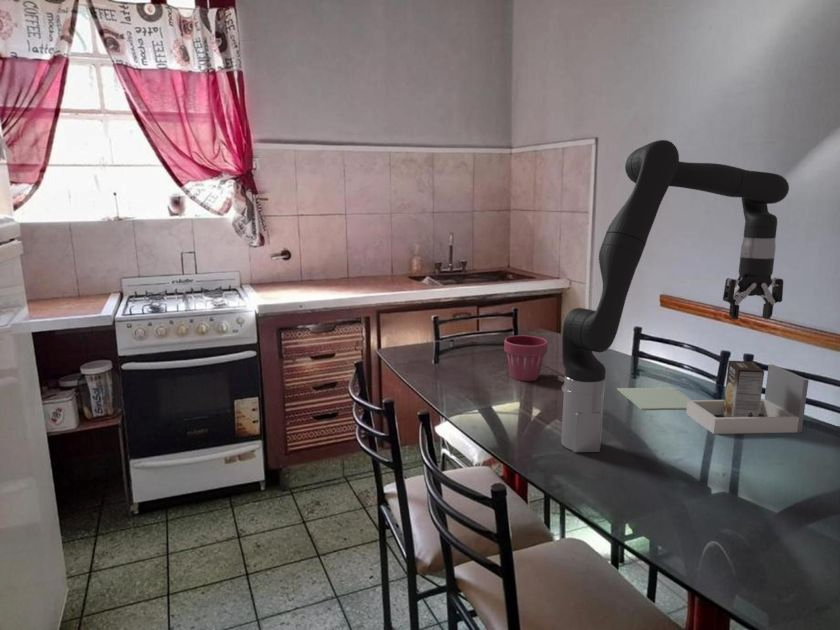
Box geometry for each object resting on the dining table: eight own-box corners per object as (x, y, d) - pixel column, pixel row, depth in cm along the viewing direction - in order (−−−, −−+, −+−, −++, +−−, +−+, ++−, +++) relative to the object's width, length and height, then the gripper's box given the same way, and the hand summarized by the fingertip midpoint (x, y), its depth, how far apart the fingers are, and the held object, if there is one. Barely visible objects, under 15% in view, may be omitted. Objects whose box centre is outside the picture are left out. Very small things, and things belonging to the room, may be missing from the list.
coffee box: (721, 416, 162) (727, 359, 159) (746, 417, 161) (753, 361, 158) (731, 428, 153) (738, 369, 150) (758, 430, 152) (765, 370, 149)
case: (801, 432, 151) (808, 379, 148) (713, 433, 150) (719, 381, 147) (766, 412, 165) (772, 364, 162) (686, 414, 163) (690, 365, 161)
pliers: (567, 390, 179) (548, 376, 194) (567, 395, 180) (548, 380, 194) (597, 388, 181) (576, 374, 196) (597, 393, 181) (576, 379, 196)
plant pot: (543, 385, 188) (544, 346, 185) (499, 381, 192) (500, 343, 190) (548, 373, 201) (550, 336, 199) (507, 369, 205) (508, 333, 203)
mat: (703, 408, 168) (703, 407, 168) (641, 409, 167) (641, 408, 167) (672, 388, 185) (673, 387, 185) (616, 389, 184) (616, 388, 184)
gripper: (738, 257, 145) (732, 322, 148) (794, 257, 145) (786, 321, 149) (721, 254, 152) (715, 316, 155) (774, 254, 153) (767, 315, 156)
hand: (750, 318), depth 152 cm, fingers open, 8 cm apart
